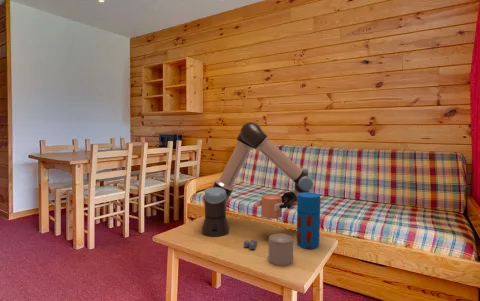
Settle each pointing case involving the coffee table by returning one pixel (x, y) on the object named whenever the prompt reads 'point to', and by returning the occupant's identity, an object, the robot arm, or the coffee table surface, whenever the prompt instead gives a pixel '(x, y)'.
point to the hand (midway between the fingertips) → (266, 205)
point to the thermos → (308, 220)
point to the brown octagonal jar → (280, 249)
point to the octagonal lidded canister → (270, 206)
